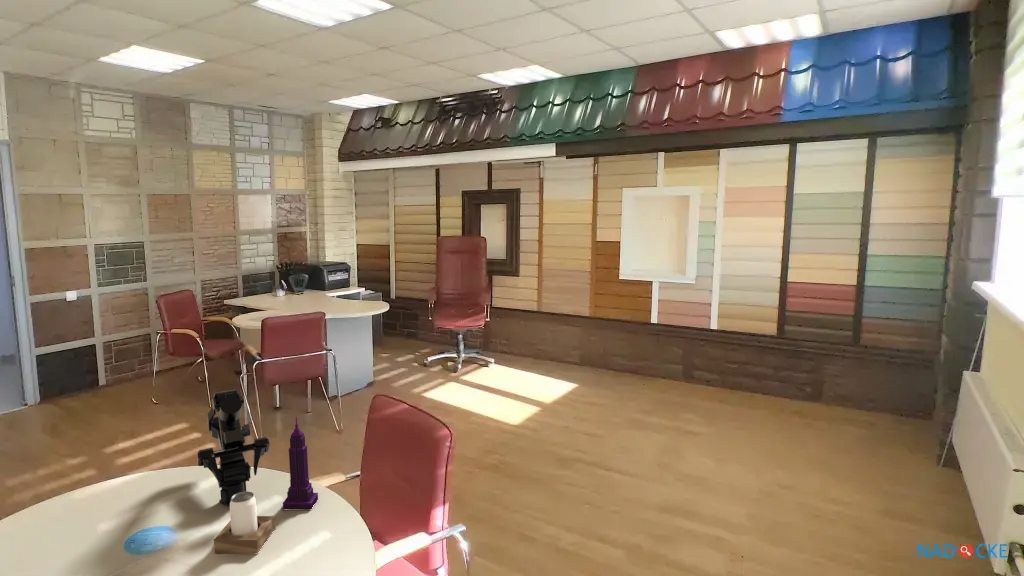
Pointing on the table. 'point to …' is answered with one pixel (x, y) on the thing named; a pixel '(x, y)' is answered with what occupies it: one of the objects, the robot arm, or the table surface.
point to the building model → (299, 475)
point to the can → (243, 513)
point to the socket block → (244, 538)
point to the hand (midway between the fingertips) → (238, 478)
